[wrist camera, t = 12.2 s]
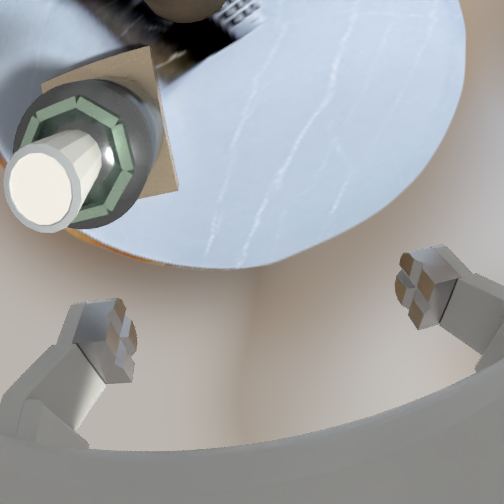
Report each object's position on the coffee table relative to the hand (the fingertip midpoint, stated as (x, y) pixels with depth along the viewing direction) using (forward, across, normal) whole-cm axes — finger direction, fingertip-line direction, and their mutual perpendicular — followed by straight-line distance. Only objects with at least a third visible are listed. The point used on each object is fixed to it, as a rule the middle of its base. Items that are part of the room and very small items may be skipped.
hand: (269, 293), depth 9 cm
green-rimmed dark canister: (+31, +13, 0) cm, 34 cm away
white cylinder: (+20, +14, -1) cm, 24 cm away
